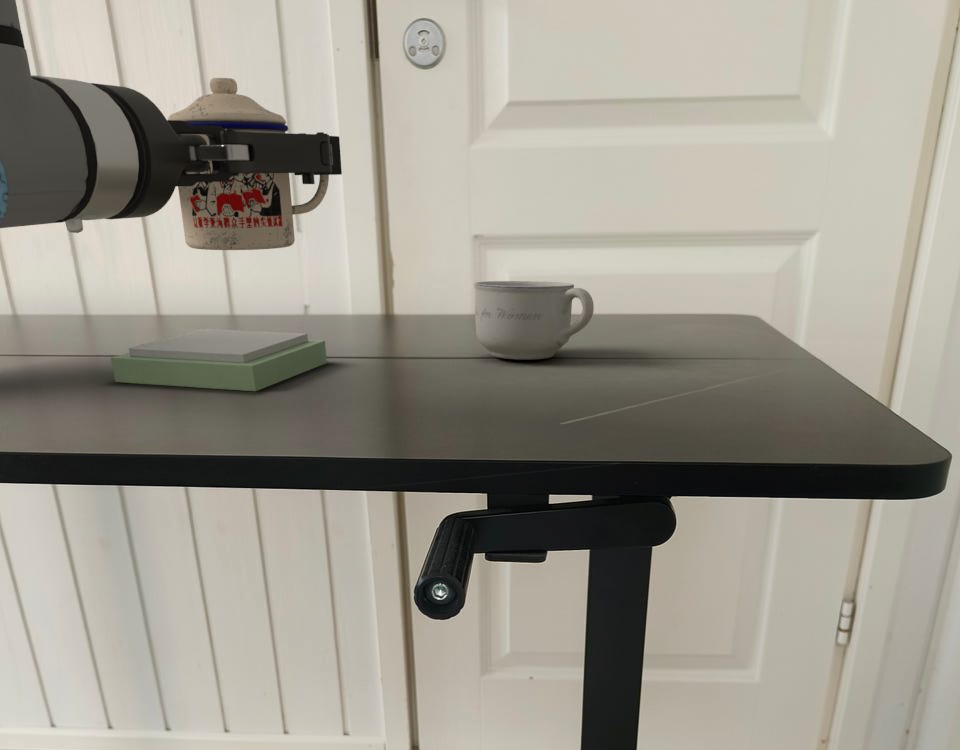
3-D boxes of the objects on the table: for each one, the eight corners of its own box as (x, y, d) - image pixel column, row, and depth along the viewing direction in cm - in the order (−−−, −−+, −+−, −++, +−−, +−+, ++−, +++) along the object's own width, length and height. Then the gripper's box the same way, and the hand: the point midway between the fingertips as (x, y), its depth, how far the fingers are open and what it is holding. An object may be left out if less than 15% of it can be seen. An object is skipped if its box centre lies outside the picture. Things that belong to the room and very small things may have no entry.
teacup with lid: (182, 252, 69) (157, 71, 64) (183, 243, 77) (161, 82, 72) (340, 248, 72) (329, 75, 67) (326, 240, 80) (315, 85, 74)
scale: (115, 382, 92) (109, 349, 90) (200, 356, 104) (196, 326, 103) (255, 391, 87) (251, 356, 86) (327, 363, 100) (324, 332, 98)
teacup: (455, 356, 102) (453, 280, 99) (524, 345, 109) (525, 273, 105) (543, 374, 93) (545, 291, 89) (613, 361, 99) (618, 282, 96)
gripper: (-40, 218, 61) (159, 206, 80) (266, 221, 55) (406, 207, 73) (-72, 88, 58) (144, 107, 76) (251, 74, 51) (401, 99, 70)
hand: (272, 156), depth 75 cm, fingers closed on teacup with lid, 11 cm apart
